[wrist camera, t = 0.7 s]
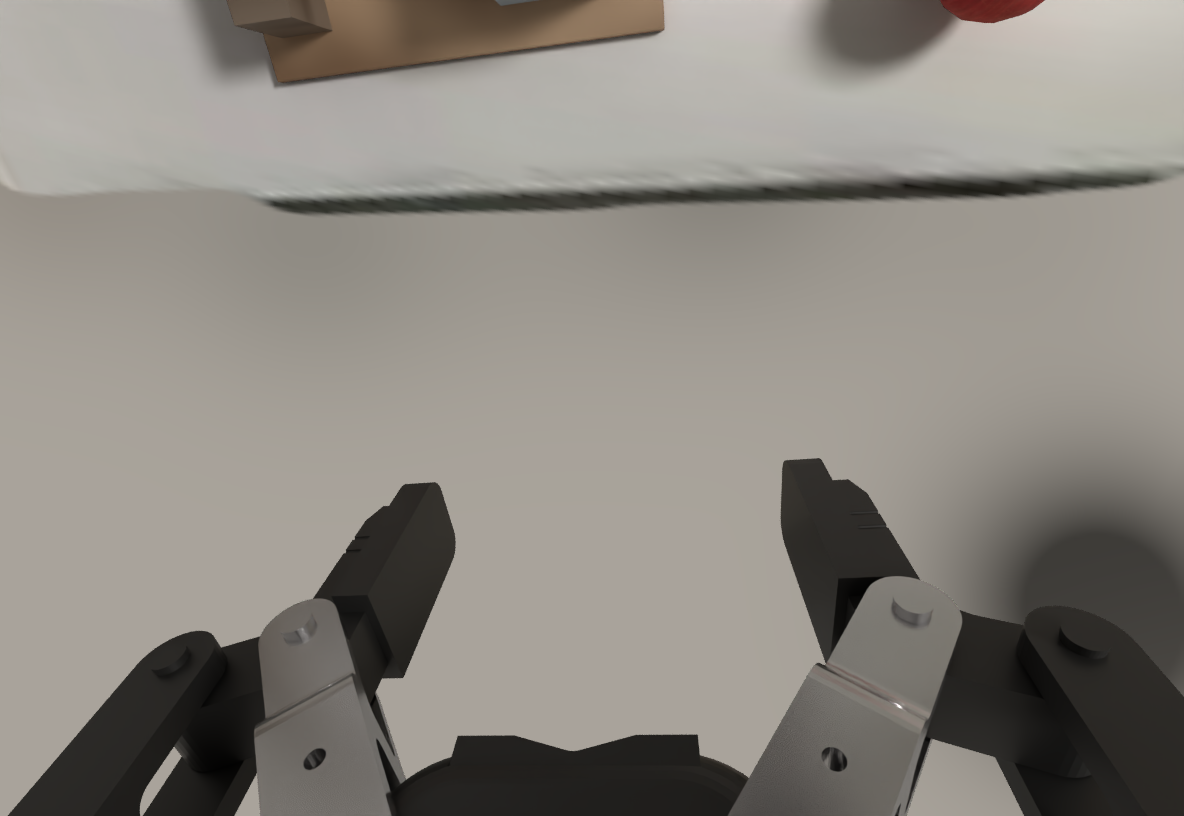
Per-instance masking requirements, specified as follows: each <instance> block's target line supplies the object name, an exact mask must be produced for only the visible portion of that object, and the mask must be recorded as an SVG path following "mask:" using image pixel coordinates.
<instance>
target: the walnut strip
mask: <svg viewBox="0 0 1184 816" xmlns="http://www.w3.org/2000/svg"><path fill="white" fill-rule="evenodd" d="M227 3H228V6H229V9H230V12H231V15H232V19H233V22H234V25H235V26H238V27H242V28H245V29H249V30H253V31H257V32H260V33H263V35H264V38H265V42H266V45H267V48H268V51H269V55H270V58H271V61H272V64H273V67H274V71H275V74H276V77H277V80H278V82H281V83H285V82H292V81H299V80H307V79H314V78H321V77H328V76H336V75H343V74H350V73H357V72H365V71H372V70H379V69H387V68H394V67H401V66H408V65H416V64H423V63H430V62H437V61H445V60H452V59H459V58H466V57H474V56H481V55H488V54H496V53H503V52H510V51H517V50H525V49H532V48H539V47H546V46H554V45H561V44H568V43H576V42H583V41H590V40H597V39H605V38H612V37H619V36H626V35H634V34H641V33H648V32H655V31H663V30H664V6H663V0H538V1H531V2H524V3H517V4H510V5H504V6H501V5H500V4H498V3H497V2H496V1H495V0H227Z"/></svg>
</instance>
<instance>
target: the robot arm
mask: <svg viewBox="0 0 1184 816" xmlns="http://www.w3.org/2000/svg"><path fill="white" fill-rule="evenodd" d="M781 495H782V496H781V528H782V535H783V540H784V543H785V547H786V549H787V552H788V555H789V558H790V561H791V564H792V567H793V570H794V572H795V576H796V578H797V581H798V584H799V587H800V590H801V593H802V596H803V599H804V602H805V604H806V607H807V610H808V613H809V616H810V619H811V622H812V625H813V627H814V631H815V633H816V636H817V639H818V642H819V645H820V648H821V651H822V654H823V657H824V660H825V663H826V664H825V665H822V664H820V663H817V664H815V665H814V666H813V668H812V669H811V670H810V672H809V674H808V675H807V677H806V679H805V680H804V682H803V684H802V686H801V687H800V690H799V691H798V693H797V695H796V696H795V698H794V700H793V702H792V703H791V705H790V707H789V709H788V710H787V712H786V714H785V716H784V717H783V719H782V721H781V723H780V724H779V726H778V728H777V730H776V731H775V733H774V735H773V737H772V739H771V740H770V742H769V744H768V746H767V748H766V749H765V751H764V753H763V754H762V756H761V758H760V760H759V761H758V764H757V765H756V767H755V768H754V770H753V772H752V774H751V776H750V777H749V778H748V777H747V776H746V775H744V774H743V773H741V772H739V771H737V770H735V769H734V768H732V767H730V766H728V765H726V764H724V763H721V762H719V761H716V760H714V759H711V758H707V757H704V756H700V754H699V745H698V735H634V736H631V737H627V738H623V739H620V740H616V741H612V742H608V743H605V744H601V745H597V746H594V747H590V748H586V749H583V750H579V751H567V750H563V749H560V748H556V747H553V746H549V745H546V744H542V743H539V742H535V741H531V740H528V739H525V738H521V737H517V736H458V737H457V740H456V744H455V748H454V751H453V754H452V757H450V758H447V759H444V760H442V761H439V762H437V763H434V764H432V765H430V766H428V767H426V768H424V769H422V770H421V771H419V772H417V773H416V774H414V775H413V776H411V777H410V778H408V779H407V780H406V778H405V775H404V772H403V770H402V767H401V764H400V761H399V757H398V754H397V752H396V749H395V745H394V742H393V739H392V736H391V733H390V730H389V727H388V724H387V721H386V718H385V714H384V712H383V708H382V706H381V702H380V700H379V697H378V695H377V693H376V690H377V688H378V686H379V683H380V681H381V679H382V678H403V677H404V675H405V672H406V670H407V668H408V665H409V663H410V661H411V658H412V656H413V654H414V651H415V649H416V646H417V644H418V641H419V639H420V637H421V634H422V632H423V630H424V627H425V625H426V622H427V620H428V618H429V615H430V613H431V610H432V608H433V606H434V603H435V601H436V598H437V596H438V594H439V591H440V589H441V587H442V584H443V582H444V580H445V577H446V575H447V572H448V570H449V568H450V565H451V562H452V560H453V558H454V554H455V533H454V530H453V526H452V523H451V520H450V517H449V514H448V511H447V507H446V504H445V501H444V497H443V494H442V491H441V488H440V486H439V485H438V484H437V483H435V482H434V483H418V484H405V485H403V486H402V487H401V489H400V490H399V492H398V493H397V495H396V496H395V498H394V499H393V501H392V502H391V504H390V506H383V507H382V508H381V509H379V510H378V511H377V512H376V513H375V514H373V515H372V516H371V517H370V518H369V519H367V520H366V521H365V523H364V524H363V526H362V527H361V529H360V530H359V531H358V533H357V534H356V536H355V540H352V542H351V543H350V545H349V546H348V548H347V549H346V553H344V554H343V555H342V557H341V558H340V560H339V561H338V563H337V564H336V565H335V567H334V568H333V570H332V571H331V573H330V574H329V576H328V577H327V579H326V581H325V582H324V583H323V585H322V586H321V588H320V589H319V591H318V592H317V594H316V595H315V597H314V598H313V599H310V600H306V601H303V602H300V603H297V604H295V605H293V606H291V607H289V608H287V609H286V610H284V611H282V612H281V613H280V614H279V615H277V616H276V617H275V618H274V619H273V620H272V621H270V623H269V624H268V625H267V626H266V627H265V629H264V630H263V632H262V634H261V636H260V637H257V638H253V639H249V640H246V641H243V642H239V643H236V644H232V645H229V646H226V647H222V648H221V647H220V645H219V644H218V642H217V641H216V639H215V638H214V636H213V635H212V634H211V633H209V632H206V631H194V632H189V633H185V634H182V635H179V636H177V637H175V638H172V639H171V640H168V641H167V642H165V643H163V644H162V645H160V646H158V647H157V648H155V649H154V650H153V651H151V652H150V653H149V654H148V655H147V656H146V657H144V658H143V659H142V660H141V661H140V662H139V663H138V664H137V665H136V667H135V668H134V669H133V670H132V671H131V672H130V674H129V675H128V676H127V677H126V678H125V680H124V681H123V682H122V683H121V684H120V685H119V686H118V688H117V689H116V690H115V691H114V692H113V693H112V695H111V696H110V697H109V698H108V699H107V700H106V702H105V703H104V704H103V705H102V706H101V707H100V709H99V710H98V711H97V712H96V713H95V714H94V716H93V717H92V718H91V719H90V720H89V722H88V723H87V724H86V725H85V726H84V727H83V729H82V730H81V731H80V732H79V733H78V734H77V736H76V737H75V738H74V739H73V740H72V741H71V743H70V744H69V745H68V746H67V747H66V748H65V750H64V751H63V752H62V753H61V754H60V755H59V757H58V758H57V759H56V760H55V761H54V762H53V764H52V765H51V766H50V767H49V768H48V769H47V771H46V772H45V773H44V774H43V775H42V776H41V778H40V779H39V780H38V781H37V782H36V783H35V785H34V786H33V787H32V788H31V789H30V790H29V792H28V793H27V794H26V795H25V796H24V797H23V799H22V800H21V801H20V802H19V803H18V804H17V806H16V807H15V808H14V809H13V810H12V812H11V813H10V814H9V815H8V816H140V802H141V799H142V795H143V793H144V791H145V789H146V787H147V785H148V784H149V782H150V781H151V779H152V778H153V776H154V775H155V773H156V772H157V770H158V769H159V768H160V766H161V765H162V763H163V762H164V760H165V759H166V757H167V756H168V754H169V753H170V751H171V750H172V749H173V747H175V748H176V749H177V751H178V752H179V753H180V755H181V756H182V757H181V759H180V760H179V762H178V763H177V765H176V767H175V768H174V769H173V771H172V773H171V774H170V775H169V777H168V778H167V780H166V781H165V783H164V785H163V786H162V788H161V789H160V791H159V792H158V794H157V795H156V797H155V798H154V800H153V801H152V803H151V804H150V806H149V807H148V809H147V810H146V812H145V813H144V815H143V816H234V815H235V813H236V811H237V810H238V807H239V806H240V804H241V802H242V800H243V798H244V796H245V794H246V792H247V791H248V789H249V787H250V785H251V783H252V781H253V779H254V777H255V776H256V773H257V778H258V792H259V804H260V816H907V813H908V810H909V807H910V804H911V801H912V798H913V795H914V792H915V789H916V786H917V783H918V780H919V777H920V775H921V771H922V768H923V766H924V763H925V760H926V757H927V754H928V751H929V748H930V744H931V742H932V739H935V740H938V741H941V742H945V743H948V744H952V745H955V746H959V747H962V748H966V749H969V750H973V751H976V752H979V753H983V754H986V755H990V756H993V757H995V758H996V760H997V762H998V764H999V766H1000V768H1001V770H1002V772H1003V774H1004V776H1005V778H1006V780H1007V782H1008V784H1009V786H1010V788H1011V790H1012V792H1013V794H1014V796H1015V798H1016V800H1017V802H1018V804H1019V806H1020V808H1021V810H1022V812H1023V814H1024V816H1184V697H1183V695H1182V694H1181V693H1180V692H1179V691H1178V690H1177V689H1176V687H1175V686H1174V685H1173V684H1172V683H1171V682H1170V680H1169V679H1168V678H1167V677H1166V676H1165V675H1164V674H1163V673H1162V671H1161V670H1160V669H1159V668H1158V667H1157V666H1156V665H1155V663H1154V662H1153V661H1152V660H1151V659H1150V657H1149V656H1148V655H1147V654H1146V653H1145V652H1144V651H1143V649H1142V648H1141V647H1140V646H1139V645H1138V644H1137V643H1136V642H1135V641H1134V640H1133V639H1132V638H1131V637H1130V636H1129V635H1128V634H1126V633H1125V632H1124V631H1123V630H1121V629H1120V628H1119V627H1117V626H1115V625H1114V624H1112V623H1111V622H1109V621H1107V620H1105V619H1103V618H1101V617H1099V616H1096V615H1094V614H1091V613H1089V612H1086V611H1083V610H1079V609H1075V608H1070V607H1064V606H1045V607H1040V608H1037V609H1035V610H1033V611H1032V612H1030V613H1029V614H1028V616H1027V617H1026V619H1025V622H1024V625H1020V624H1014V623H1009V622H1005V621H1000V620H995V619H990V618H985V617H980V616H976V615H972V614H969V613H966V612H963V611H961V610H959V608H958V607H957V605H956V604H955V602H954V601H953V600H952V599H951V598H950V597H949V596H948V595H947V594H946V593H944V592H943V591H941V590H940V589H939V588H937V587H935V586H933V585H931V584H929V583H927V582H924V581H921V580H920V579H919V577H918V576H917V574H916V572H915V571H914V569H913V567H912V566H911V564H910V563H909V561H908V559H907V558H906V556H905V554H904V553H903V551H902V549H901V548H900V546H899V544H898V543H897V541H896V540H895V538H894V536H893V535H892V533H891V531H890V530H889V528H887V527H886V523H885V522H884V520H883V518H882V517H881V515H880V514H878V510H877V508H876V507H875V506H874V504H873V502H872V500H871V499H870V497H869V495H868V494H867V493H866V492H865V491H863V490H862V489H861V488H859V487H858V486H856V485H855V484H854V483H852V482H851V481H850V480H848V479H847V480H832V478H831V477H830V475H829V473H828V471H827V469H826V467H825V465H824V463H823V462H822V460H821V459H819V458H817V459H800V460H786V461H784V463H783V468H782V494H781Z"/></svg>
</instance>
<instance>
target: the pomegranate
mask: <svg viewBox="0 0 1184 816" xmlns="http://www.w3.org/2000/svg"><path fill="white" fill-rule="evenodd" d="M940 1H941V3H942V5H943V7H944V8H946V9H947V10H948V11H950V12H951V13H953V14H954V15H956V16H957V17H958V18H960V19H961V20H966V21H974V22H982V23H995V22H999V21H1002V20H1006V19H1009V18H1013V17H1016V16H1019V15H1022V14H1025V13H1027V12H1029V11H1031V10H1033V9H1034V8H1035V7H1037V6H1038V5H1039V4H1040V3H1042V2H1043V1H1044V0H940Z"/></svg>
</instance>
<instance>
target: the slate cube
mask: <svg viewBox="0 0 1184 816" xmlns="http://www.w3.org/2000/svg"><path fill="white" fill-rule="evenodd" d="M495 1H496V2H497V3H498V4H500V5H501V6H504V5H510V4H517V3H524V2H531V1H538V0H495Z"/></svg>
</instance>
